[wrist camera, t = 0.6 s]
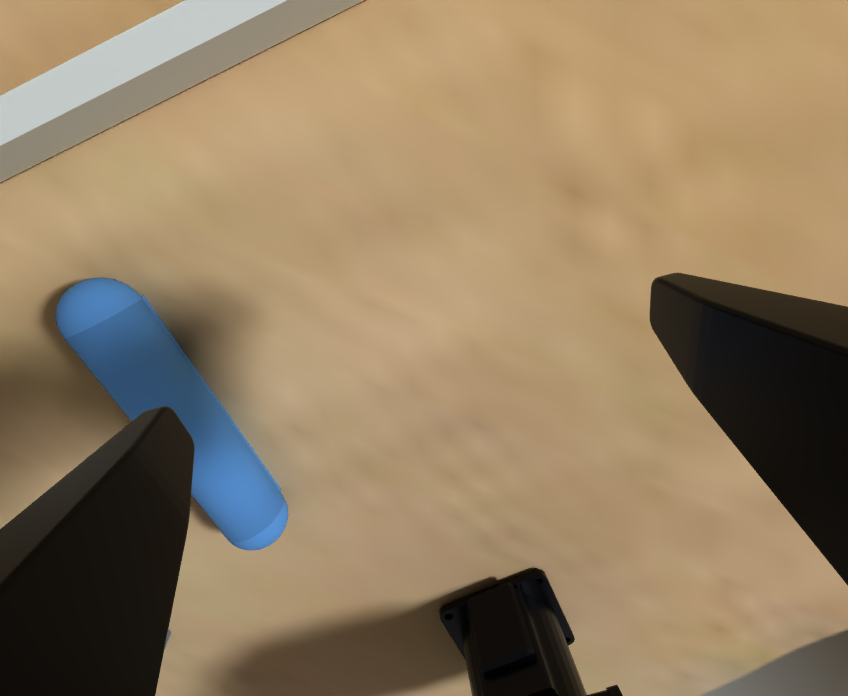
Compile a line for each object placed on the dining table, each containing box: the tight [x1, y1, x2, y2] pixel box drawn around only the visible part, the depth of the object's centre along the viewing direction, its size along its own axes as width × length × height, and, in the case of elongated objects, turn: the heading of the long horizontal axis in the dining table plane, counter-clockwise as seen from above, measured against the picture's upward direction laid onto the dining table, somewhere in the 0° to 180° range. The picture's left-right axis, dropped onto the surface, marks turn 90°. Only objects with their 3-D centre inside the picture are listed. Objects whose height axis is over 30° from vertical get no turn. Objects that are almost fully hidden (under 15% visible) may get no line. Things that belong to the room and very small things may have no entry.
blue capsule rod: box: [56, 278, 288, 550], centre depth 21 cm, size 14×3×3 cm, turn 24°
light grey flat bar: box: [0, 0, 364, 182], centre depth 15 cm, size 23×1×4 cm, turn 114°
